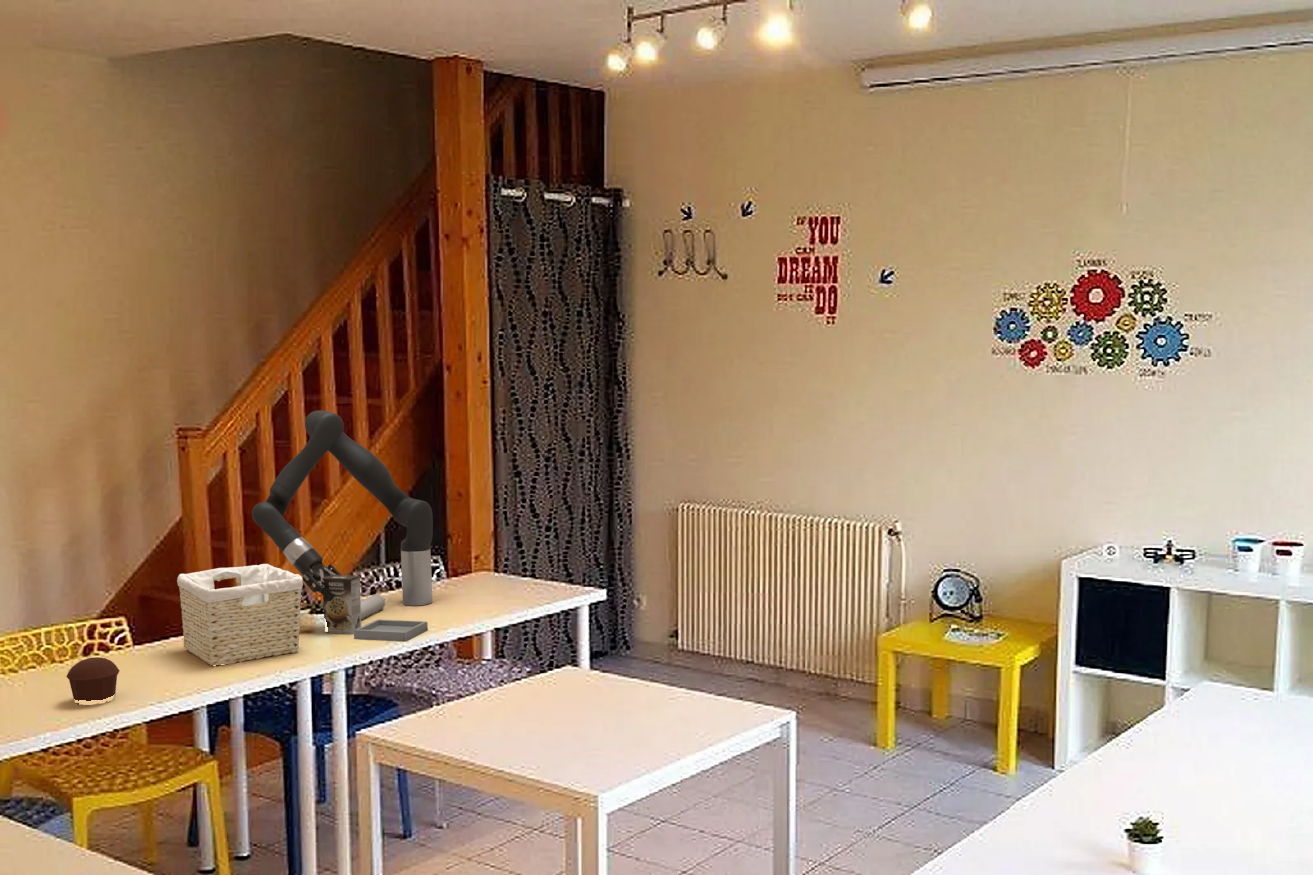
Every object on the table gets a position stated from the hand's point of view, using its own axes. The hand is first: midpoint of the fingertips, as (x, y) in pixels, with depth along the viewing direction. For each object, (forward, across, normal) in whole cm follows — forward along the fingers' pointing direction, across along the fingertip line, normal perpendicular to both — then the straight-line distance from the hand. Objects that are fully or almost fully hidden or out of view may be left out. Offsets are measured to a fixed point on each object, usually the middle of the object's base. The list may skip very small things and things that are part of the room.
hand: (339, 596), depth 380 cm
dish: (+19, -1, -5) cm, 20 cm away
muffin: (-8, -77, +23) cm, 81 cm away
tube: (+6, +16, +10) cm, 20 cm away
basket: (-3, -27, +18) cm, 33 cm away
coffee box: (+8, 0, +7) cm, 10 cm away
